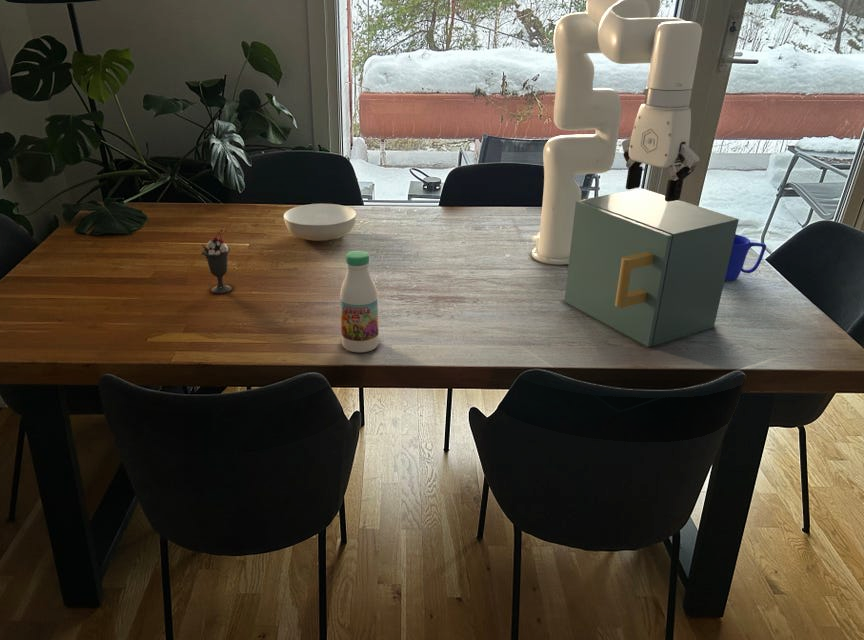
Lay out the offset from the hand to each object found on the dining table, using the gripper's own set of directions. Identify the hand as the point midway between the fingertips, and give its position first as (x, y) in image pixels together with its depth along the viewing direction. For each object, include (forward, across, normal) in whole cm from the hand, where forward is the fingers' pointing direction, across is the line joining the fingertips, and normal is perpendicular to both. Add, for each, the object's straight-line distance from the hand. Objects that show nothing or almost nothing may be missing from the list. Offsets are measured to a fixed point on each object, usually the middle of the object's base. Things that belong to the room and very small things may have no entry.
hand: (651, 194), depth 135 cm
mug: (+31, -12, +46) cm, 57 cm away
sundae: (+31, -69, -66) cm, 100 cm away
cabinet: (+31, -8, +11) cm, 34 cm away
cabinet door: (+31, -8, -2) cm, 32 cm away
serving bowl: (+30, -93, -29) cm, 102 cm away
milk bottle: (+31, -26, -49) cm, 64 cm away
